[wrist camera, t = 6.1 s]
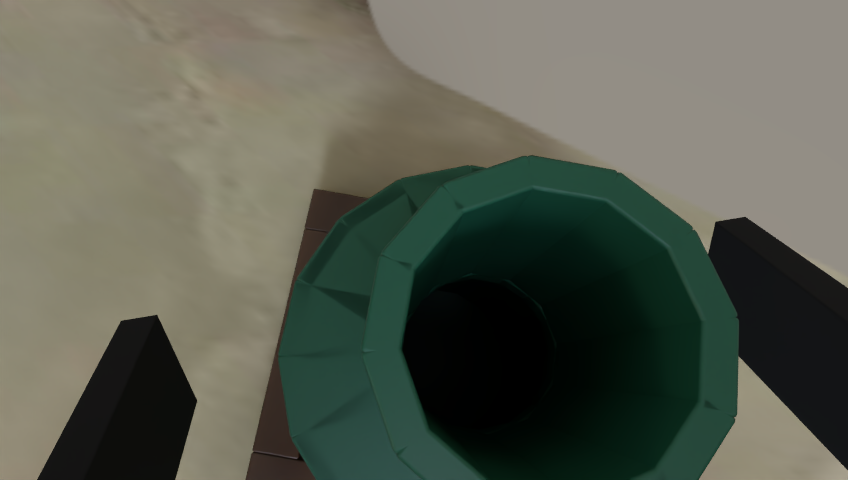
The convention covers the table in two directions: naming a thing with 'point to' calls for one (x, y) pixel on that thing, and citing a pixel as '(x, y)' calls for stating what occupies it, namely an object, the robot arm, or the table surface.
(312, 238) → the holder
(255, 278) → the table surface
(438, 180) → the bottle
